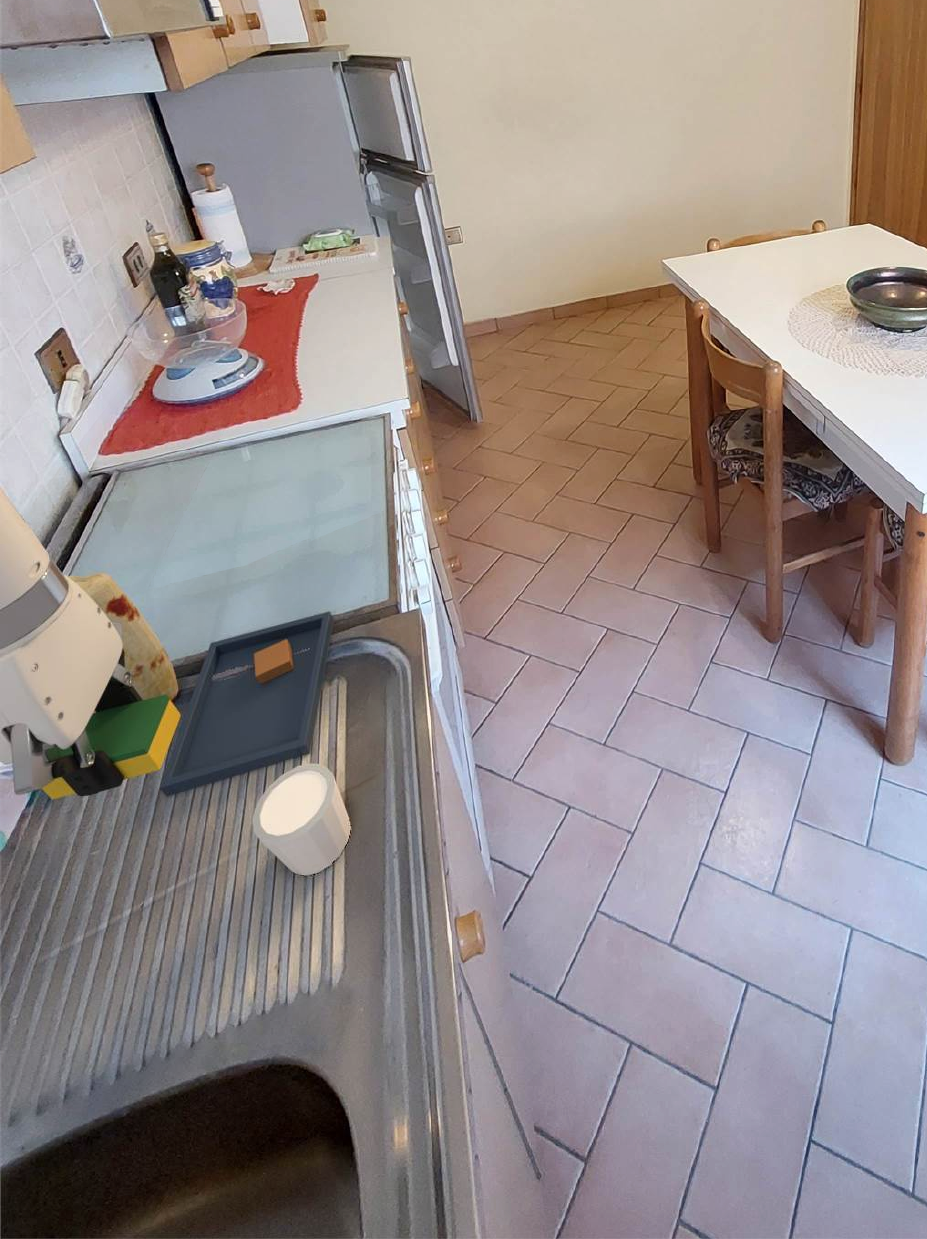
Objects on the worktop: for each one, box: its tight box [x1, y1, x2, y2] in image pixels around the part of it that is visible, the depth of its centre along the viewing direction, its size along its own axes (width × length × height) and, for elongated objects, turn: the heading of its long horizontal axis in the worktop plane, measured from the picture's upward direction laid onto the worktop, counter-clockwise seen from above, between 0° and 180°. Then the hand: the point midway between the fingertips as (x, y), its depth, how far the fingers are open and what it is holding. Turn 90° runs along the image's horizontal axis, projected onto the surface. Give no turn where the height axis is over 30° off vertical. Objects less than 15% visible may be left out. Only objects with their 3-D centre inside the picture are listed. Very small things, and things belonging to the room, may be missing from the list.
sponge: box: [41, 694, 181, 800], centre depth 60 cm, size 8×5×3 cm, turn 104°
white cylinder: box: [251, 762, 352, 875], centre depth 66 cm, size 7×7×7 cm
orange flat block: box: [254, 639, 294, 684], centre depth 85 cm, size 4×4×2 cm
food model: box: [66, 572, 179, 713], centre depth 77 cm, size 10×7×20 cm
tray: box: [159, 611, 335, 797], centre depth 81 cm, size 14×18×2 cm
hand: (117, 752), depth 61 cm, fingers closed on sponge, 5 cm apart
